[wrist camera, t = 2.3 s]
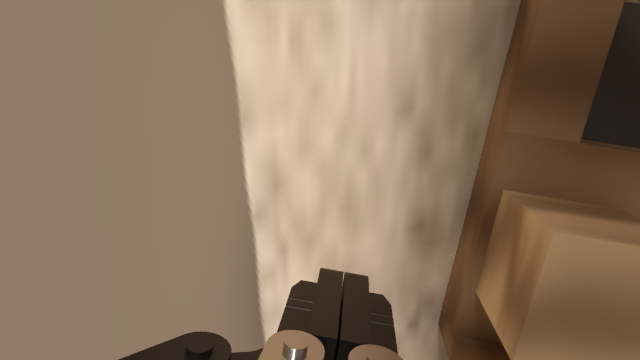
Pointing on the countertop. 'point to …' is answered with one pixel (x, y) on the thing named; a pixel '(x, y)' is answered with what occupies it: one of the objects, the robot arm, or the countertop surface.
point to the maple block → (562, 279)
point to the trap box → (551, 139)
